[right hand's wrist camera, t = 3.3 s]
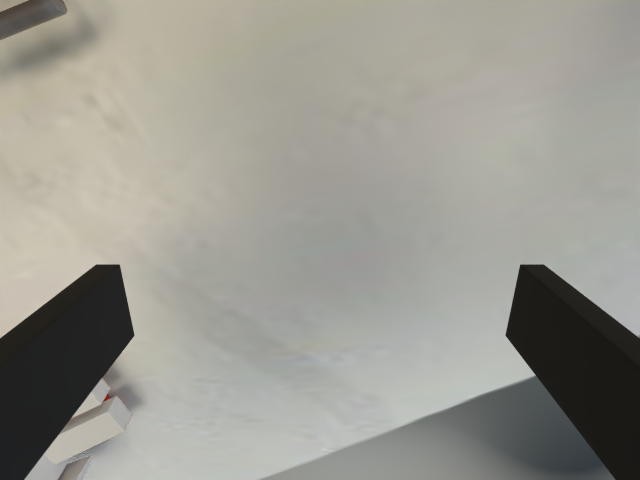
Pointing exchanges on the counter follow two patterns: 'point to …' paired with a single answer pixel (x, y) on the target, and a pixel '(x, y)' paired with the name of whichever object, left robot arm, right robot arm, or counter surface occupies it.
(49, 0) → the drawer
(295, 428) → the counter surface
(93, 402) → the toy
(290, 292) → the counter surface
